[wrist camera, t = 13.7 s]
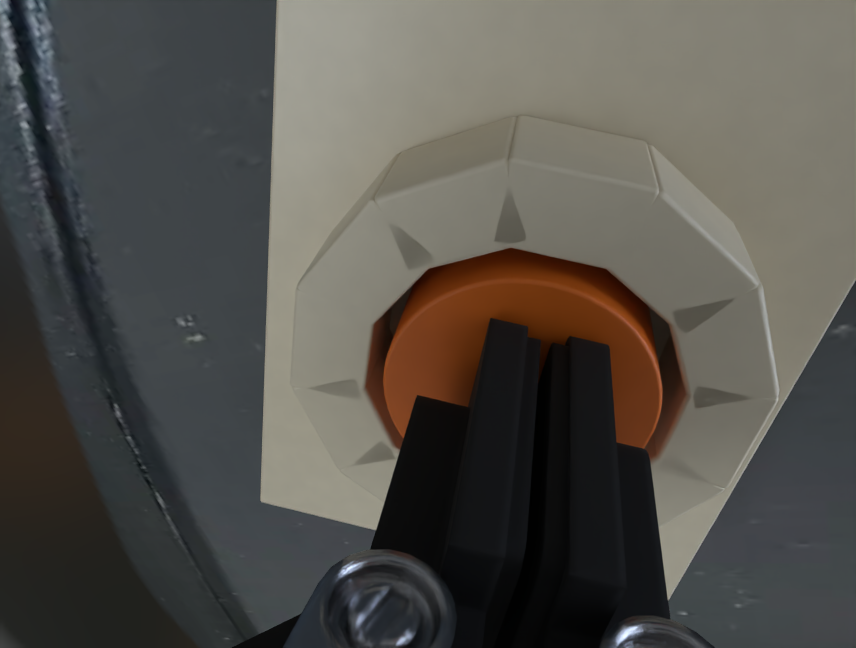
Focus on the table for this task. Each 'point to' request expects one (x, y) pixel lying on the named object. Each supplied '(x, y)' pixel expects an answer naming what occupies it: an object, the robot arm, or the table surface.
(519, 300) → the button
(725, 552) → the table surface
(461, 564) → the robot arm
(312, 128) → the control block
